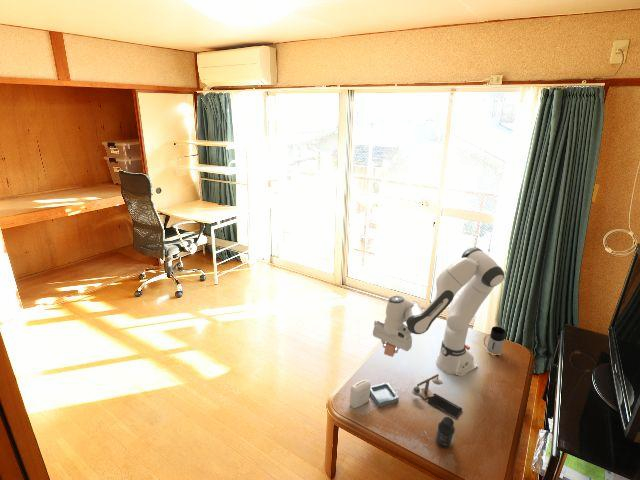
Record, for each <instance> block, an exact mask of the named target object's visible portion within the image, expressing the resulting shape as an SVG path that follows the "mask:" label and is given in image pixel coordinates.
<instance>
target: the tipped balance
mask: <svg viewBox="0 0 640 480" xmlns="http://www.w3.org/2000/svg"><path fill="white" fill-rule="evenodd" d="M439 376H440V375H439V373H436V374H435V375H433V376H431V377H428V378H426V379H425V380H423V381H421V382H419V383H417V385H416V386H414V387H413V388H411V394H412V395H414V396H415V397H419V396H420V397H421V399H423V401H425V400H428V399H429V398H430V397H434V393H433V392H432V391H431V389H429V387H430V383H431V382H430V381H432V383H433V384H434V385H436V386H437V385H439V386H440V385H442V384H443V379H442V377H439ZM422 385H424V387H423V388H421V387H420V386H422Z"/></svg>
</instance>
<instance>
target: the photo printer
mask: <svg viewBox="0 0 640 480" xmlns="http://www.w3.org/2000/svg"><path fill="white" fill-rule="evenodd" d="M371 386H372V384H371V381H370V380H369V379H362V380H360V381H358V382H356V383H354V384H353V385H352V386H351V387H350V397H349V405H350V407H351V408H352V409H356V408H358V407H360V406H363V405H364V404H366V403H368V402H369V401H370V397H371V395H370V387H371Z"/></svg>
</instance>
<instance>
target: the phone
mask: <svg viewBox="0 0 640 480" xmlns="http://www.w3.org/2000/svg"><path fill="white" fill-rule="evenodd" d="M433 394H434V397H430V398H429V399H427V404H428V405H430V406H432V407H433V408H435V409H437V410H439V411H440V412H442V413H444V414H446V415H448V417H449V416H450V418H453V419H456V420H457V419H458V418H459V416H461V414H462V413H463V408H462V407H460V406H458V405H457V404H455V403H454V402H451V401H450V400H448V399H446V398H444V397H443V396H440V394H437V393H433Z"/></svg>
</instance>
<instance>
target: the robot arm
mask: <svg viewBox="0 0 640 480" xmlns="http://www.w3.org/2000/svg"><path fill="white" fill-rule="evenodd" d="M504 278H505V272H504V270H503V269H502V267H500V266H499V265H498V263H497V262H496V261H495V260H494V259H493V258H492V257H490V256H489V255H488V254H486V253H485V252H484V251H483V250H481V248H479V247H476V246H474V247H469V248H467V249H466V250H465V251H464V252H462V255H461V258H459V259H457V260H456V261H454V262H453V263H451V264H450V265H449V266H447V267H446V268H445V269H444V270H442V271H441V273H440V274H439V275H438V276H437V278H436V284H435V285H436V293H435V297H434V300H432V302H430V304H429V305H427V306H426V308H425V309H424V310H423V307H422V306H421V305H420V303H418V302H417V301H415V300H409V299H407V298H405V297H404V296H402V295H393V296H391V297H390V298H389V299H388V301H387V304H386V309H385V319H384V322H383V321H380V320H379V319H378V320H375V321H374V324H373V329H372V335H373V337H375V338H376V339H378V340H380V341H381V344H382V348H384V349H385V344H386V342H387V343H390V344H392V345H394V346H396V348H395V349H394V353H395V354H398V352H399V350H400V349H401V350H403V351H405V352H408V351H410V350H411V349H412V345H413V336H412V334H414V335H422V334H424V333H426V332H427V331H428V330H429V329H430V327H431V326H432V324H433V323H434V321H436V319H437V318H438V317H439V316H441V314H442V313H443V312H444V311H445V310H446V309H447V307H449V305H450V307H449V308H448V309H449V310H448V311H447V314H446V325H445V329H444V335H443V340H442V341H441V345H440V346H441V347H440V350H439V352H438V353H437V358H436V361H435V362H436V365H437V367H438V368H439V369H440V370H441V371H442V372H445V373H447V374H452V375H455V374H456V376H457V375H458V377H462V376H464V375H466V374H468V373H470V372H471V370H472V371H474V370H475V369H474V368H476V367H477V368H478V364H477V362H476V361H475V360H474V358H475V357H474V355H473V354H472V353H471V352H470V350H471V347H470V346H469V345H468V344H467V345H466V341H467V340H466V339H467V335H468V331H469V326H470V324H471V321H472V320H473V318H474V317H475V316H476V314H477V312H478V310H479V309H480V307H481V305H482V304H483V303H484V301H486V299H487V298H488V296H489V295H490V294H491V292H492V291H493V289H494V288H495V287H497V286H498V285H500V284H501V283H502V282H503V280H504ZM462 288H463V289H462ZM461 289H462V290H461ZM460 290H461V292H460V294H459V296H458V297H456V298H455V296H456V294H457V293H458V292H459V291H460ZM454 298H455V299H454ZM405 323H406V324H405ZM474 363H475V364H474ZM477 368H476V369H477ZM473 369H474V370H473ZM469 371H470V372H469ZM467 372H468V373H467Z"/></svg>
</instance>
